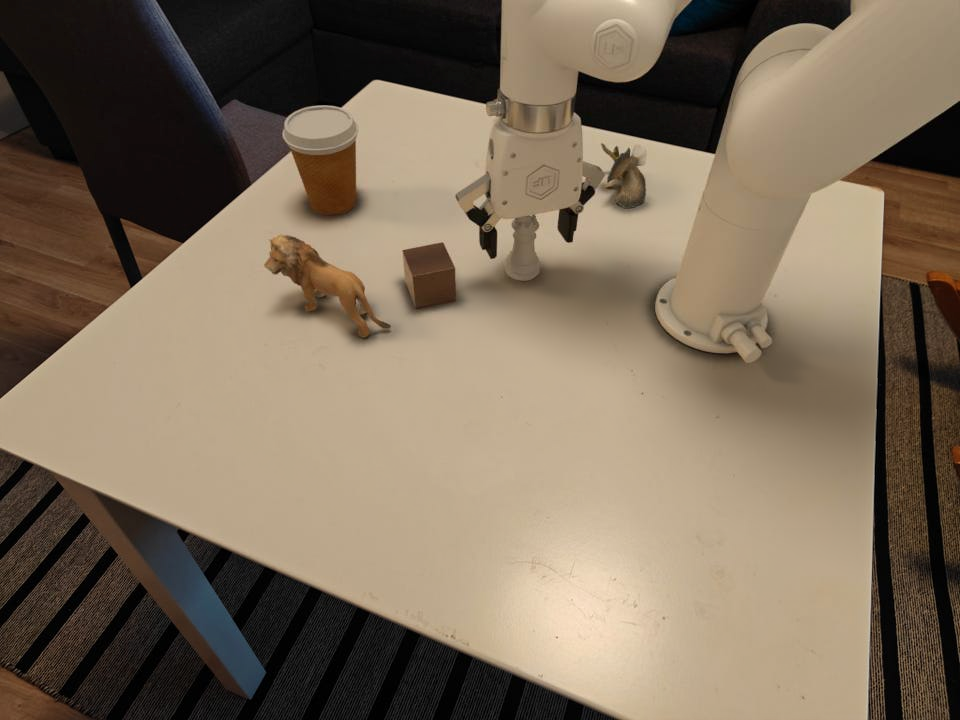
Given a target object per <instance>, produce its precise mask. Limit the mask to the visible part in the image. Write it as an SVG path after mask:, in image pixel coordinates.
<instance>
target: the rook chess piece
mask: <svg viewBox="0 0 960 720" xmlns="http://www.w3.org/2000/svg"><path fill="white" fill-rule="evenodd" d="M511 228H512V229H513V230H514V231H513V232H512V238H513V243H512V249H511V250H510V252H509V253H508V254H507V256H506V258H505V261H504V263H505V264H504V272H505V273H506V274H507V276H508V277H509V278H510V279H512V280H514V281H518V282H528V281H531V280H533V279H535V277H537V276H538V275H539V273H540V271H541V267H540V265H541V262H540V257H539V256H538V254H537V252H536V249H535V248H536V247H535V240H536V238H537V230H539V228H540V223H539V221H538V219H537V215H536V214H535V215H530V216H525V217H519V218H514V219H512V221H511Z"/></svg>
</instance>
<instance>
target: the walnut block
mask: <svg viewBox="0 0 960 720" xmlns="http://www.w3.org/2000/svg"><path fill="white" fill-rule="evenodd" d="M401 251H402V260H403V270H404V272H403V273H404V281H405V285H406V287H407V290H408V293H409V295H410V298H411V301H412V303H413V306H414V309H416V310H417V309H421V308H425V307H430V306H435V305H440V304H443V303H450V302H454V301H456V300H457V288H456V286H457V285H456V282H457V281H456V267H455V264H454V262H453V260H452V257H451V256H450V254H449V252H448V249H447V247H446V245H445V243H444V242H438V243H437V242H436V243H432V244H426V245H420V246H416V247H411V248H406V249H402V250H401Z"/></svg>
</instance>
